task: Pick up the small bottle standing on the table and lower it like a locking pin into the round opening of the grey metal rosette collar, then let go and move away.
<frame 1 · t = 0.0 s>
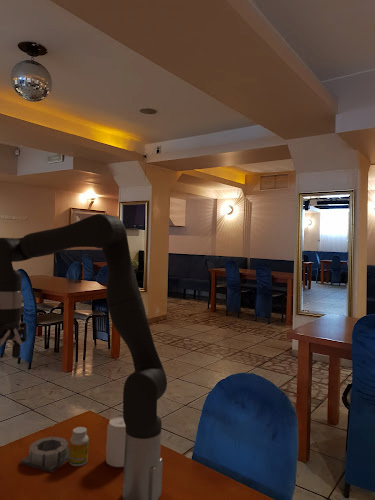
hand: (5, 361, 116), 29 cm above the table, tool pointing down, fingers open, 8 cm apart
beverage can: (119, 462, 119), on the table
rosette collar: (48, 458, 119), on the table
supplement bottle: (78, 462, 118), on the table
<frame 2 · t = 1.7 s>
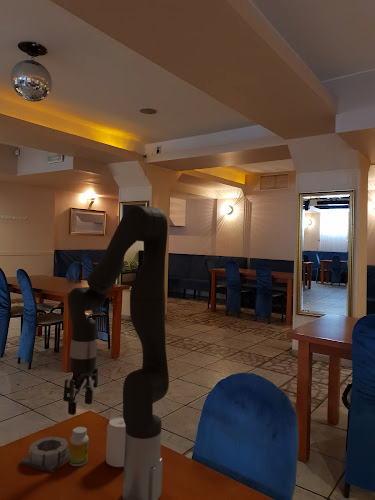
hand: (80, 408, 118), 16 cm above the table, tool pointing down, fingers open, 8 cm apart
nothing on the table moved.
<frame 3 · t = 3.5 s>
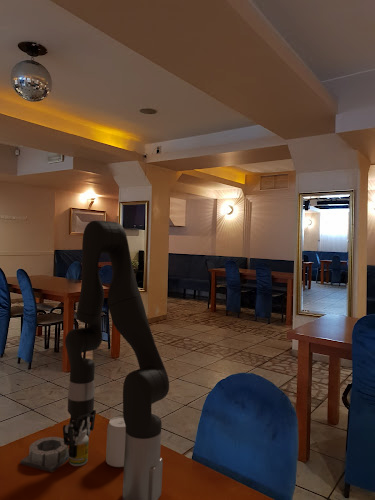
hand: (78, 451, 118), 3 cm above the table, tool pointing down, fingers closed on supplement bottle, 5 cm apart
supplement bottle: (78, 462, 118), on the table, touching gripper
everything else where it was.
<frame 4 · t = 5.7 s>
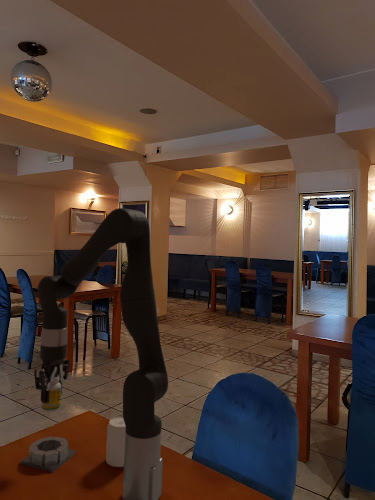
hand: (51, 398, 119), 18 cm above the table, tool pointing down, fingers closed on supplement bottle, 5 cm apart
supplement bottle: (50, 409, 119), point 15 cm above the table, touching gripper
everything else where it was.
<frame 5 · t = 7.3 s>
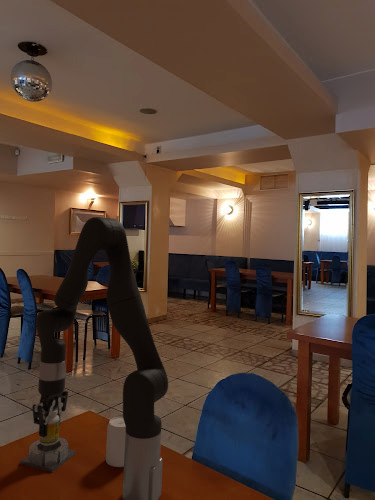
hand: (49, 431, 119), 8 cm above the table, tool pointing down, fingers closed on supplement bottle, 5 cm apart
supplement bottle: (49, 442, 119), point 5 cm above the table, touching gripper
everything else where it was.
when the fingers open (6 cm above the table, at t = 8.3 s): supplement bottle drops 2 cm, resting on rosette collar.
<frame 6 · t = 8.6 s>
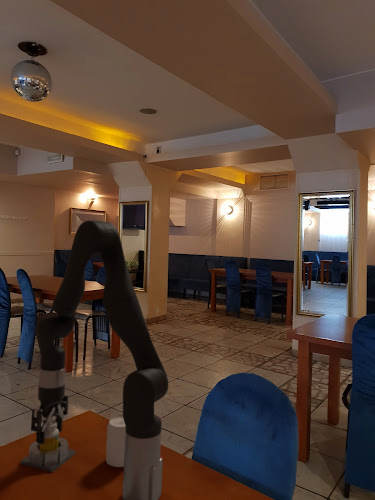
hand: (49, 437, 119), 7 cm above the table, tool pointing down, fingers open, 8 cm apart
supplement bottle: (48, 456, 119), point 1 cm above the table, touching rosette collar
everything else where it was.
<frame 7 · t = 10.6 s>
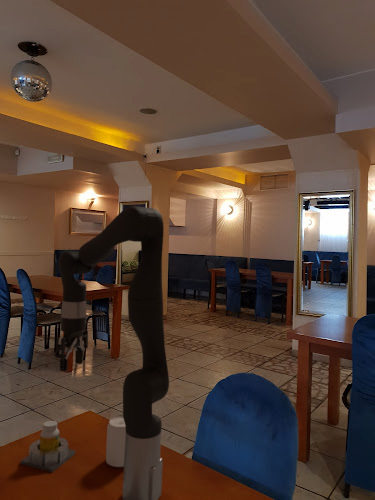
hand: (71, 367, 124), 26 cm above the table, tool pointing down, fingers open, 8 cm apart
nothing on the table moved.
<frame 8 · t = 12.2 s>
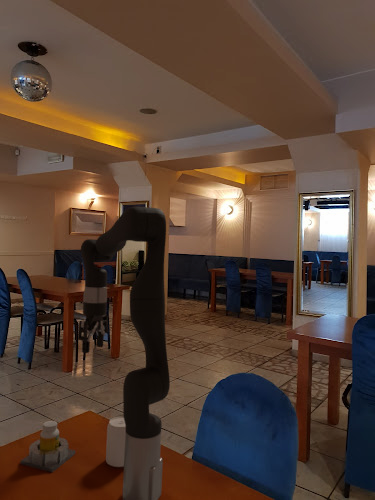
hand: (93, 349, 130), 30 cm above the table, tool pointing down, fingers open, 8 cm apart
nothing on the table moved.
at the end: supplement bottle 0.1 cm off-centre on the rosette collar, point 0.8 cm above the rosette collar's base; supplement bottle tilted 0°; the gripper is holding nothing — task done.
